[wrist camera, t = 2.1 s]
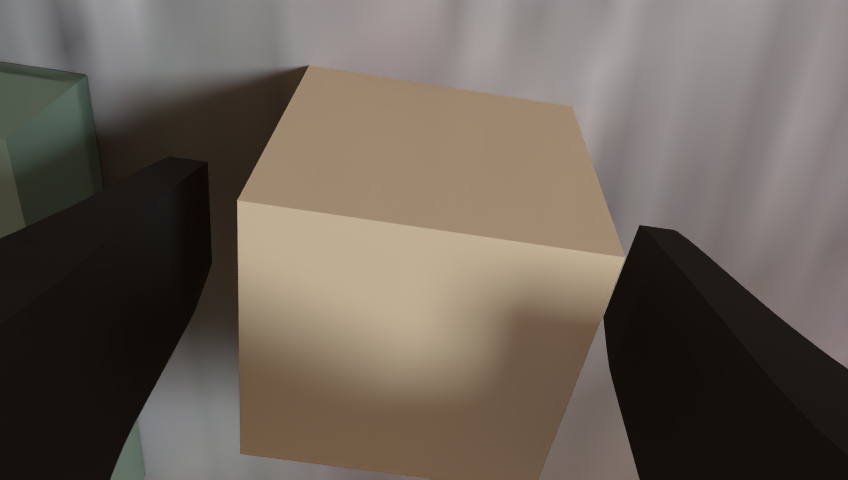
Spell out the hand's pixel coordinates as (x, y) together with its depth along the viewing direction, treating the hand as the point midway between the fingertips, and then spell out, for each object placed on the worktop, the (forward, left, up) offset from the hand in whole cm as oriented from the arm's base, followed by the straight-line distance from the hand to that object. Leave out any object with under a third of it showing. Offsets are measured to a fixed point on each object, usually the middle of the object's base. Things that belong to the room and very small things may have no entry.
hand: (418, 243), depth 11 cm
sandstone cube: (0, 0, -2) cm, 2 cm away
